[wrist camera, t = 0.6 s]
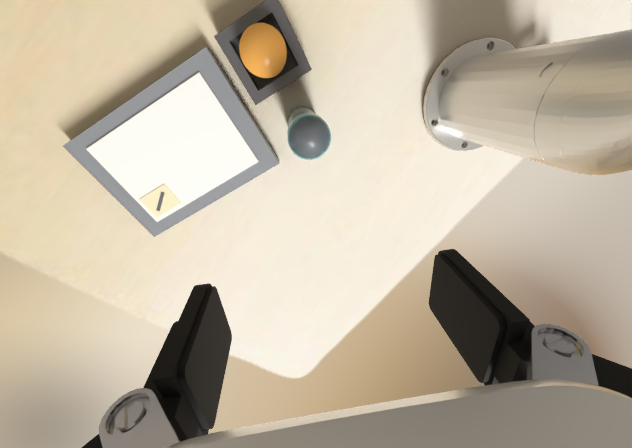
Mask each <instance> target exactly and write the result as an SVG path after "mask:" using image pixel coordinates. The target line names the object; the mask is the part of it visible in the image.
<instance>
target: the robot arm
mask: <svg viewBox="0 0 632 448" xmlns="http://www.w3.org/2000/svg"><path fill="white" fill-rule="evenodd" d="M442 71H443V74H442V75H441V72H442ZM423 112H424V120H425V124H426V127H427V129H428V131H429V133H430V135H431V136H432V137H433V138H434V140H435V141H436V142H438V143H439V144H441V145H442V146H444V147H447V148H449V149H453V150H457V151H467V150H474V149H477V148H480V147H482V146H487V147H490V148H494V149H497V150H500V151H504V152H507V153H510V154H514V155H517V156H520V157H524V158H527V159H530V160H534V161H537V162H541V163H544V164H547V165H550V166H554V167H557V168H560V169H564V170H567V171H571V172H575V173H579V174H587V175H606V174H614V173H619V172H624V171H628V170H632V30H626V31H620V32H615V33H610V34H604V35H597V36H591V37H585V38H579V39H573V40H567V41H561V42H555V43H548V44H542V45H536V46H530V47H524V48H518V49H516V48H515V47H514V46H513V45H512V44H510V43H508V42H507V41H505V40H502V39H497V38H482V39H478V40H474V41H471V42H468V43H466V44H464V45H462V46H460V47H459V48H457V49H455V50H454V51H453V52H452V53H450V54H449V55H448V56H447V57H446V58H445V59H444V60H443V61H442V62H441V64H440V65H439V66H438V67H437V69H436V71H435V72H434V74H433V75H432V77H431V79H430V82H429V84H428V86H427V90H426V93H425V97H424V106H423ZM432 120H433V123H432V124H431V122H432ZM429 306H430V309H431V311H432V312H433V314H434V315H435V317H436V318H437V320H438V321H439V323H440V324H441V326H442V327H443V329H444V330H445V332H446V333H447V335H448V336H449V338H450V339H451V341H452V342H453V344H454V345H455V347H456V348H457V350H458V351H459V353H460V354H461V356H462V357H463V359H464V360H465V362H466V363H467V365H468V366H469V368H470V369H471V371H472V372H473V374H474V375H475V377H476V378H477V380H478V381H479V382H481V383H484V384H485V386H480V387H473V388H467V389H461V390H455V391H449V392H442V393H437V394H431V395H424V396H418V397H413V398H406V399H400V400H395V401H389V402H383V403H377V404H371V405H365V406H359V407H354V408H347V409H342V410H336V411H330V412H324V413H319V414H313V415H308V416H302V417H296V418H291V419H285V420H279V421H273V422H268V423H262V424H257V425H251V426H246V427H241V428H236V429H231V430H226V431H221V432H216V433H211V434H208V430H209V429H212V428H213V426H214V423H215V418H216V413H217V409H218V403H219V399H220V394H221V389H222V384H223V379H224V374H225V369H226V365H227V360H228V355H229V350H230V345H231V340H232V335H231V330H230V327H229V324H228V321H227V318H226V315H225V312H224V309H223V306H222V304H221V301H220V298H219V295H218V292H217V289H216V287H215V286H214V287H212V286H211V284H203V285H196V286H194V288H193V290H192V292H191V294H190V297H189V299H188V301H187V303H186V305H185V308H184V310H183V312H182V314H181V317H180V319H179V321H176V322H175V323H174V324H173V326H172V327H171V330H170V332H169V334H168V336H167V338H166V341H165V343H164V345H163V347H162V349H161V351H160V353H159V356H158V358H157V360H156V362H155V364H154V366H153V368H152V370H151V373H150V375H149V377H148V379H147V381H146V384H145V386H144V388H140V389H136V390H133V391H130V392H128V393H127V394H125V395H123V396H122V397H121V398H119V399H118V400H117V401H116V402H114V403H113V404H112V406H111V407H110V408H109V409H108V410H107V411H106V413H105V415H104V416H103V418H102V420H101V423H100V426H99V434H98V435H97V436H96V437H94V438H93V439H92V440H91V441H89V442H88V443H87V444H86V445H84V446H83V447H82V448H632V369H631V368H628V367H626V366H623V365H620V364H617V363H615V362H612V361H609V360H606V359H604V358H601V357H598V356H595V355H593V354H591V350H590V348H589V346H588V345H587V344H586V343H585V342H584V340H583V339H581V338H580V337H579V336H577V335H576V334H575V333H573V332H571V331H569V330H567V329H565V328H562V327H560V326H556V325H551V324H540V325H536V326H534V325H533V324H532V323H531V322H530V320H529V319H528V318H527V317H526V316H525V315H524V314H523V313H522V312H521V311H520V310H519V309H518V308H517V307H516V306H515V305H513V304H512V303H511V302H510V301H509V300H508V299H507V298H506V297H505V296H504V295H503V294H502V293H501V292H500V291H499V290H498V289H496V288H495V287H494V286H493V285H492V284H491V283H490V282H489V281H488V280H487V279H486V278H485V277H484V276H483V275H482V274H481V273H480V272H478V271H477V270H476V269H475V268H474V267H473V266H472V265H471V264H470V263H469V262H468V261H467V260H466V259H465V258H464V257H463V256H461V255H460V254H459V253H458V252H457V251H456V250H455V249H450V250H443V251H440V252H439V253H438V255H436V256H435V260H434V267H433V274H432V282H431V290H430V297H429Z"/></svg>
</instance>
